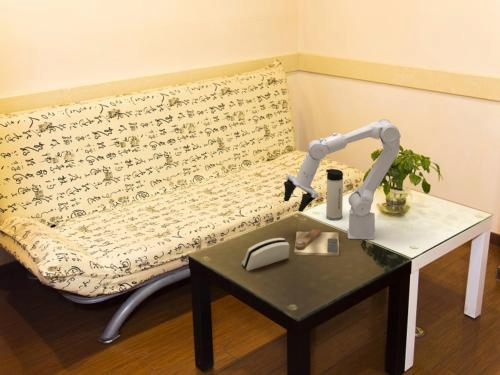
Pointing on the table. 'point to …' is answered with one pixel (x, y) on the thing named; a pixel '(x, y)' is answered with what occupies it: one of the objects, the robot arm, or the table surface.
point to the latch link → (307, 239)
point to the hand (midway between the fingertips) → (293, 206)
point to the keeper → (332, 245)
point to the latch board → (317, 244)
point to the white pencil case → (266, 253)
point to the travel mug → (334, 194)
